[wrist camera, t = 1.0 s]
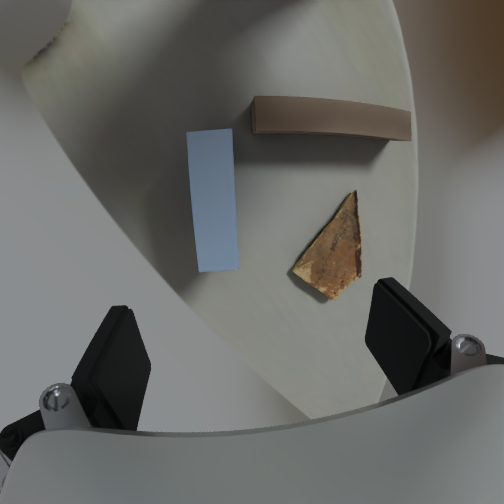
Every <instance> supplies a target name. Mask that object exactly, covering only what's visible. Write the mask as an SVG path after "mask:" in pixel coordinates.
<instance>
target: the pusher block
mask: <svg viewBox="0 0 504 504" xmlns="http://www.w3.org/2000/svg"><path fill="white" fill-rule="evenodd" d="M187 149H188V165H189V179H190V191H191V203H192V214H193V224H194V234H195V243H196V252H197V260H198V269H199V272H210V271H225V270H239V269H240V268H239V251H238V234H237V217H236V198H235V179H234V159H233V137H232V129H216V130H203V131H192V132H187Z"/></svg>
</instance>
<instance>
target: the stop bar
mask: <svg viewBox="0 0 504 504" xmlns="http://www.w3.org/2000/svg"><path fill="white" fill-rule="evenodd" d="M250 107H251V131H252V134H318V135H337V136H352V137H363V138H373V139H382V140H393V141H411V114H410V111H405V110H400V109H395V108H390V107H384V106H379V105H373V104H366V103H359V102H351V101H343V100H334V99H323V98H309V97H288V96H255V97H254V99H253V100H252V102H251V104H250Z"/></svg>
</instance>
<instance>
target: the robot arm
mask: <svg viewBox="0 0 504 504" xmlns="http://www.w3.org/2000/svg"><path fill="white" fill-rule="evenodd" d="M450 334H451V330H450V329H448V328H447V326H445V325H444V324H443V323H442V322H441V321H440V320H439V319H438V318H437V317H436V316H435V315H434V314H433V313H432V312H431V311H430V310H429V309H427V308H426V307H425V306H424V305H423V304H422V303H421V302H420V301H419V300H418V299H417V298H415V297H414V296H413V295H412V294H411V293H410V292H409V291H408V290H407V289H405V288H404V287H403V286H402V285H401V284H400V283H399V282H397V281H396V280H395V279H394V278H392V277H390V278H383V279H379V280H378V282H377V283H376V284H375V285H374V288H373V295H372V301H371V307H370V313H369V319H368V324H367V330H366V335H365V343H366V345H367V347H368V348H369V350H370V352H371V353H372V355H373V356H374V358H375V359H376V361H377V362H378V364H379V365H380V367H381V368H382V370H383V372H384V373H385V375H386V376H387V378H388V379H389V381H390V382H391V384H392V386H393V387H394V389H395V391H396V392H397V394H398V395H399V396H397V397H394V398H391V399H388V400H385V401H382V402H379V403H376V404H372V405H369V406H366V407H362V408H359V409H355V410H351V411H347V412H343V413H339V414H335V415H331V416H327V417H322V418H318V419H313V420H308V421H302V422H297V423H292V424H285V425H278V426H271V427H264V428H255V429H245V430H234V431H219V432H190V433H189V432H187V433H186V432H185V433H184V432H183V433H182V432H146V431H137V426H138V421H139V417H140V413H141V408H142V404H143V399H144V395H145V391H146V387H147V383H148V379H149V375H150V371H151V363H150V360H149V357H148V354H147V352H146V349H145V346H144V343H143V340H142V338H141V335H140V332H139V329H138V326H137V322H136V320H135V316H134V313H133V311H132V310H131V309H128V307H127V306H126V305H123V306H112V307H111V309H110V310H109V312H108V313H107V315H106V317H105V318H104V320H103V322H102V323H101V325H100V327H99V328H98V330H97V332H96V334H95V335H94V337H93V339H92V341H91V342H90V344H89V346H88V348H87V349H86V351H85V353H84V355H83V357H82V359H81V361H80V362H79V364H78V366H77V368H76V370H75V372H74V374H73V376H72V382H71V384H70V385H68V384H65V383H57V384H54V385H51V386H50V387H48V388H47V389H46V390H45V391H44V392H43V393H42V395H41V396H40V399H39V407H40V410H38V411H36V412H34V413H32V414H30V415H28V416H26V417H24V418H22V419H20V420H18V421H16V422H14V423H12V424H10V425H8V426H6V427H5V428H4V429H3V430H2V431H1V433H0V504H504V358H502V357H498V356H494V355H489V354H486V351H485V347H484V344H483V343H482V342H481V340H479V339H478V338H477V337H474V336H473V335H469V334H459V335H457V336H455V337H454V338H453V340H451V339H450V338H449V337H450Z"/></svg>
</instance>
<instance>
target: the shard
mask: <svg viewBox="0 0 504 504" xmlns="http://www.w3.org/2000/svg"><path fill="white" fill-rule="evenodd" d="M357 202H358V198H357V191H356V190H355V191H354V192H352V193H349V195H348V196H347V198H346V199H345V201H344V202H343V203H342V205H341V207H340V208H339V210H338V212H337V213H336V215H335V217H334V218H333V219H332V221H331V222H330V223H329V224H328V225H327V226H326V227H325V229H324V230H323V232H322V233H321V235H320V236H319V237H318V238H317V239H316V240H315V241H314V243H313V244H312V246H310V247H309V248H308V249H307V250H306V251H305V253H304V254H303V256H302V257H301V259H300V260H299V261H298V262H297V263H296V264H295V266H294V267H293V269H292V272H294V273H295V274H296V275H298V276H299V277H300V278H302V279H303V280H304V281H305V282H306V283H308V284H310V285H311V286H313V287H315V288H317V289H318V290H319V291H320V292H322V293H324V294H325V295H326V296H327V297H328V298H329V299H330V300H336V299H337V298H338V297H339V296H340V294H341V293H342V292H343V291H344V290H345V289H346V288H347V287H348V286H349V285H350V284H351V283H352V282H353V281H355V280H356V279H357V278H360V277H361V266H362V263H361V235H360V234H361V231H360V222H359V216H358V209H357V208H358V206H357Z"/></svg>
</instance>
